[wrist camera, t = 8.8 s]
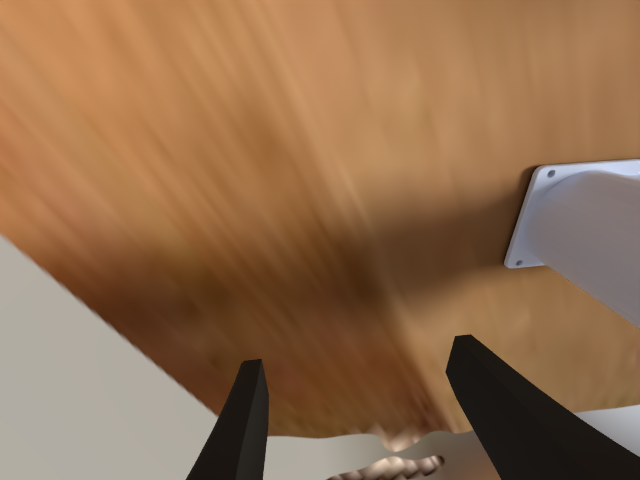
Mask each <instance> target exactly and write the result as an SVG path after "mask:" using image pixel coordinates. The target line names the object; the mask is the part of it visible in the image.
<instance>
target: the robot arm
mask: <svg viewBox="0 0 640 480" xmlns="http://www.w3.org/2000/svg"><path fill="white" fill-rule="evenodd" d="M549 172H550V173H549ZM548 173H549V174H548ZM517 261H518V262H517ZM504 265H505V266H506V267H507V268H510V269H512V268H522V267H532V266H542V265H547V266H548V267H550V268H551V269H553V270H554V271H556V272H557V273H559V274H560V275H562V276H563V277H564V278H566V279H567V280H569V281H570V282H572V283H573V284H575V285H576V286H578V287H579V288H580V289H582V290H583V291H585V292H586V293H588V294H589V295H591V296H592V297H594V298H595V299H597V300H598V301H599V302H601V303H602V304H604V305H605V306H607V307H608V308H610V309H611V310H613V311H614V312H616V313H617V314H618V315H620V316H621V317H623V318H624V319H626V320H627V321H629V322H630V323H632V324H633V325H634V326H636V327H637V328H639V329H640V159H626V160H612V161H598V162H584V163H570V164H556V165H542V166H539V167H538V168H536V170H535V171H534V173H533V175H532V178H531V181H530V184H529V187H528V190H527V193H526V197H525V200H524V203H523V206H522V209H521V212H520V215H519V218H518V221H517V224H516V227H515V230H514V233H513V236H512V239H511V242H510V245H509V248H508V251H507V255H506V258H505V261H504ZM446 374H447V377H448V379H449V382H450V384H451V387H452V389H453V391H454V393H455V396H456V398H457V400H458V402H459V404H460V406H461V408H462V409H463V411H464V413H465V415H466V417H467V419H468V420H469V422H470V424H471V426H472V427H473V429H474V431H475V433H476V435H477V436H478V438H479V440H480V442H481V443H482V445H483V447H484V449H485V450H486V452H487V454H488V456H489V457H490V459H491V461H492V463H493V465H494V466H495V468H496V470H497V472H498V474H499V476H500V478H501V480H640V457H639V456H637V455H635V454H634V453H632V452H630V451H629V450H627V449H626V448H624V447H622V446H621V445H619V444H618V443H616V442H614V441H613V440H612V439H610V438H609V437H607V436H605V435H604V434H602V433H601V432H599V431H598V430H596V429H595V428H593V427H592V426H590V425H589V424H587V423H586V422H584V421H583V420H581V419H580V418H578V417H577V416H576V415H574V414H573V413H571V412H570V411H569V410H567V409H566V408H564V407H563V406H562V405H560V404H559V403H557V402H556V401H555V400H553V399H552V398H551V397H549V396H548V395H547V394H545V393H544V392H543V391H541V390H540V389H539V388H537V387H536V386H535V385H533V384H532V383H531V382H529V381H528V380H527V379H526V378H524V377H523V376H522V375H520V374H519V373H518V372H517V371H515V370H514V369H513V368H512V367H510V366H509V365H508V364H507V363H505V362H504V361H503V360H502V359H500V358H499V357H498V356H497V355H496V354H494V353H493V352H492V351H491V350H489V349H488V348H487V347H486V346H485V345H483V344H482V343H481V342H480V341H478V340H477V339H476V338H475V337H473V336H472V335H471V334H470V335H461V336H455V338H454V342H453V346H452V350H451V353H450V357H449V361H448V364H447V368H446ZM268 414H269V393H268V388H267V384H266V379H265V374H264V369H263V364H262V359H257V360H248V361H244V362H243V363H241V366H240V369H239V372H238V374H237V377H236V380H235V382H234V385H233V387H232V389H231V392H230V394H229V396H228V399H227V401H226V403H225V405H224V407H223V409H222V411H221V414H220V416H219V418H218V420H217V422H216V424H215V426H214V428H213V430H212V432H211V434H210V436H209V438H208V440H207V442H206V444H205V446H204V447H203V449H202V451H201V453H200V455H199V457H198V459H197V461H196V462H195V464H194V466H193V468H192V470H191V471H190V473H189V475H188V477H187V479H186V480H263V471H264V461H265V453H266V442H267V434H268Z"/></svg>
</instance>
